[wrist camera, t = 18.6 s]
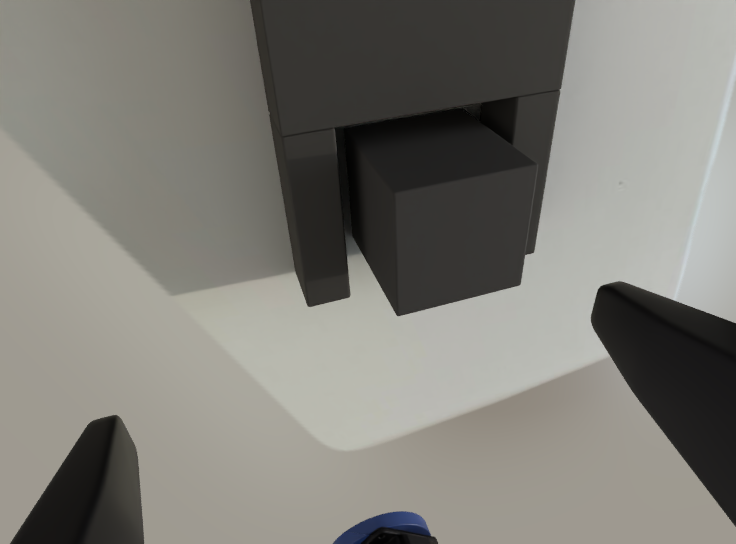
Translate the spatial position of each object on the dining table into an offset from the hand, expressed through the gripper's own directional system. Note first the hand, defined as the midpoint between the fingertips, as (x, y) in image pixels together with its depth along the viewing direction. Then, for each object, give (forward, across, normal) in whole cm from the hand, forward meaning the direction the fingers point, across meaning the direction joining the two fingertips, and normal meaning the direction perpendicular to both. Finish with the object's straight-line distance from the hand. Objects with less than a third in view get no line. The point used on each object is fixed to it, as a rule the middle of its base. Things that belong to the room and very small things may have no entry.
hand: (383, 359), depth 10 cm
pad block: (+12, -5, +3) cm, 13 cm away
